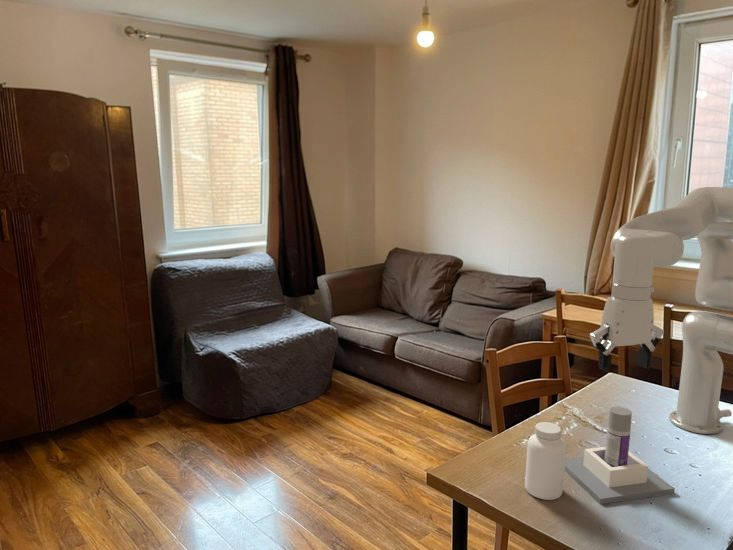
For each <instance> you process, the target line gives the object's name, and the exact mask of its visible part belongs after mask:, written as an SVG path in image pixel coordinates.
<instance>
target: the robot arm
mask: <svg viewBox="0 0 733 550" xmlns="http://www.w3.org/2000/svg"><path fill="white" fill-rule="evenodd" d="M694 238H697V241H698V243H699V247H700V251H701V255H700V260H699V261H700V263H699V266H698V267H699V268H698V275H697V279H696V285H695V291H694V293H695V294H694V295H695V300H696V302H697V303H698V304H700V305H702V306H703V307H709V308H712V309H713V308H714V309H719V310H723V311H730V312H733V187H723V186H722V187H721V186H705V187H698V188H695V189H693V190H691V192H689V193H688V194H686V195H685V196H684V197H683V198H682V199H680V200H679V201H678V202H677V203H675V204H674V205H672V206H671V207H669V208H665V209H661V210H657V211H654V212H649V213H646V214H643V215H639V216H637V217H634V218H632V219H629V221H627V222H626V223H624V224H623V225H622V226H620V228H618V229H617V231H616V232H615V233H614V234H613V236H612V239H611V242H610V252H611V254H612V256H613V260H614V261H613V270H612V271H613V273H612V282H611V293H610V294H611V295H610V296H608V297H607V299H606V300H605V305H604V308H603V311H602V316H601V321H600V322H601V323H600V327H598V329H596V330H595V331H592V332H591V333H590V334H589V338H590V340H591V343H592V346H593V347H594V348H595V349H596V350H597V351H598V362H597V363H598V369H599V370H601V371H603V372H604V373H610V372H611V367H612V366H611V365H612V356H613V355H611V354H610V353H611V352H612V351H613V350H614V348H616V347H625V346H637V345H640V346H641V347H638V353H637V365H638V366H640V367H642V368H644V369H645V370H649V369H650V368H651V361H652V352H654V351H656V346H658V344H659V343H660V342H661V339H662V338H663V337H662V336H663V335H664V333H665V330H664V329H662V328H661V327H659V326H656V325H655V324H654V323H655V322H654V321H655V320H654V319H655V315H654V314H655V313H654V305H653V299H652V298H651V295H652V293H654V291H655V287H654V285H653V276H654V268H655V267H657V268H668V267H671V266H673V265H676V264H677V263H678V262H679V261H680V259H681V258H682V257H683V254H684V250H685V246H684V242H683V241H688V240H691V239H694ZM681 334H682V343H683V344H682V346H683V348H682V360H681V369H680V370H681V371H680V378H679V386H678V396H677V406H676V410H674V411H672V412H670V414H669V420H670V422H671V423H672V424H673V425H674V426H676V427H678V428H680V429H682V430H684V431H688V432H692V433H697V434H701V435H702V434H703V435H715V434H718V433H721V432H722V431H723V428H724V424H723V423H722V422H721V419H722V418H729V417H732V415H733V413H732V411H731V410H730V409H720V407H719V404H720V396H721V389H722V381H723V374H724V363H723V360H722V357H721V356H720V353H719V352H722V353H726V354H729V355H733V316H732V315H726V314H721V313H715V312H712V311H711V312H710V311H703V310H702V311H700V310H698V311H697V310H696V311H692V312H688V314H686V315H685V317H684V319H683V320H682V324H681Z"/></svg>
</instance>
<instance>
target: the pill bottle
mask: <svg viewBox="0 0 733 550" xmlns="http://www.w3.org/2000/svg"><path fill="white" fill-rule="evenodd" d="M526 449H527V450H526V461H525V462H526V463H525V478H524V487H525V490H526V491H527V493H528V494H530V495H531V496H532V497H535V498H537V499H541V500H545V501H553V500H557V499H559V498H561V496H562V495H563V491H564V482H565V472H566V471H565V460H566V459H567V457H566V456H567V444H566V442H565V440H563V438H562V429H561V427H560V426H559V425H558V424H556V423H552V422H550V421H549V422H546V421H541V422H538V423H536V425H535V427H534V433H533V434H532V435H530V437H529V438H528V441H527V448H526Z"/></svg>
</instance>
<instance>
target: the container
mask: <svg viewBox="0 0 733 550" xmlns="http://www.w3.org/2000/svg"><path fill="white" fill-rule="evenodd" d="M632 412H633V411H631V410H630V409H629V408H626V407H623V406H611V407H610V408H609V412H608V421H607V429H606V438H605V439H606V440H605V447H606V449H605V460H604V461H605V462H606V463H607V464H608V465H610V466H611V467H617V466H625V465H627V460H628V451H629V449H630V439H631V426H632V416H633V415H632ZM629 452H630V451H629Z"/></svg>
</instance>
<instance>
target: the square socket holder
mask: <svg viewBox="0 0 733 550" xmlns="http://www.w3.org/2000/svg"><path fill="white" fill-rule="evenodd" d="M605 449H606V446H600V447H592V448H591V447H590V448H585V449H584V453H583V456H578V457H569V458H566V460H565V471H564V472H566V473H567V474H568V475H569V476H570V477H571V478H572V479H573V480H574V481H575V482H576V483H577V484H579V486H581V488H583V490H585V491H586V492H587V493H588V494H589V495H590V496H591V498H593V499H594V500H595V501H596V502H597V503H598V504H599V505H601V504H608V503H609V504H610V503H617V502H624V501H631V500H638V499H645V498H650V497H651V498H652V497H659V496H667V495H674V494H675V489H676V488H675V487H674V486H672V485H671V484H669V482H667V481H665V480H664V479H663V478H662V477H660V476H659V475H658V474H656V473H655V472H654V471H652V470H651V469H650V468H649V465H648V464H647V463H645V461H642V460H641V459H640V458H639V457H638V456H636V455H634V454H633V453H632V452H630V451H628V460H627V465H625V466H617V467H611V466H610V465H608V464H607V463H606V462H605V461H604V460H605Z"/></svg>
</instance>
